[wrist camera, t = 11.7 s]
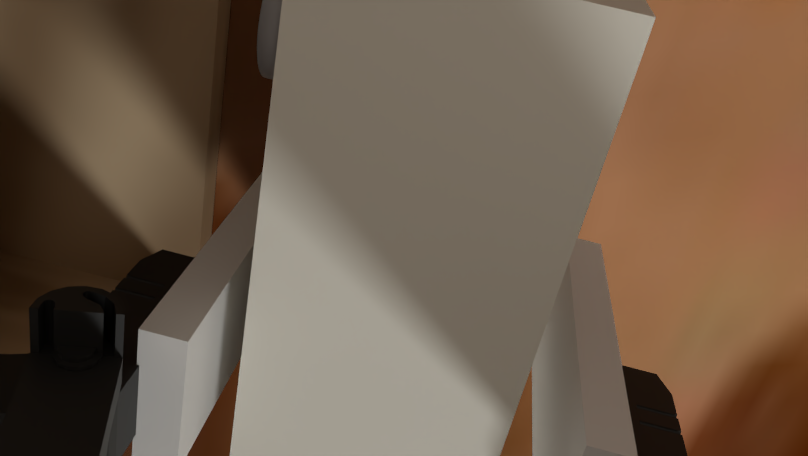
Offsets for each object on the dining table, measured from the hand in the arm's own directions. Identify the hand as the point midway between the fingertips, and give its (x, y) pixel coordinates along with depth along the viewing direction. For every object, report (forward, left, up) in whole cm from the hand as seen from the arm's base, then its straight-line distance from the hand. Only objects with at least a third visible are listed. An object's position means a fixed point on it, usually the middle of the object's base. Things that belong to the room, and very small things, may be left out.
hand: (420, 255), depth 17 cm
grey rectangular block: (0, +1, -6) cm, 6 cm away
